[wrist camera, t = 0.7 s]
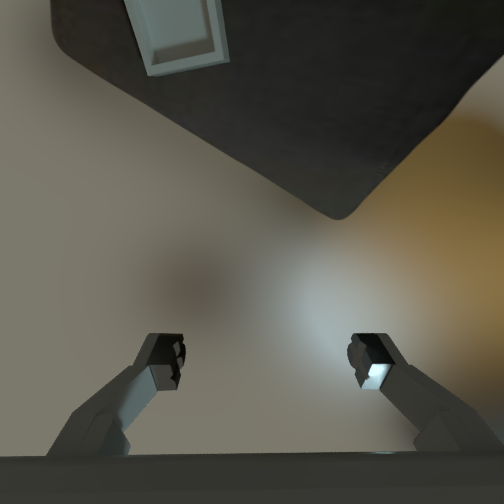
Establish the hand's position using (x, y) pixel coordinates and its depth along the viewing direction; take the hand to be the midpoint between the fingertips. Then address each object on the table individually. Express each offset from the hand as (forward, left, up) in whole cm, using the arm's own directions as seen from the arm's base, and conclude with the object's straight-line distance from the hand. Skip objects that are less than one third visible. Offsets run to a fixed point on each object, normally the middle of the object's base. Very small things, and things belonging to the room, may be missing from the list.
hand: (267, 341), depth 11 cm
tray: (-22, -18, -43) cm, 51 cm away
